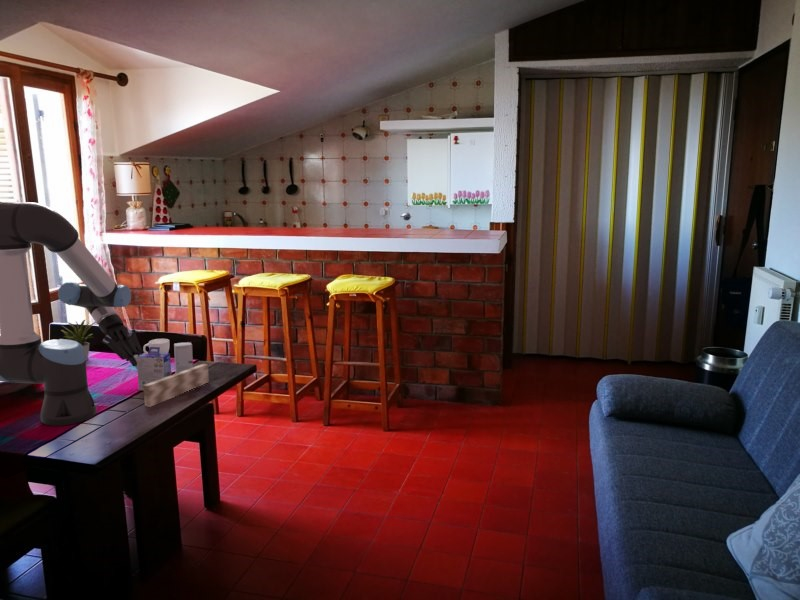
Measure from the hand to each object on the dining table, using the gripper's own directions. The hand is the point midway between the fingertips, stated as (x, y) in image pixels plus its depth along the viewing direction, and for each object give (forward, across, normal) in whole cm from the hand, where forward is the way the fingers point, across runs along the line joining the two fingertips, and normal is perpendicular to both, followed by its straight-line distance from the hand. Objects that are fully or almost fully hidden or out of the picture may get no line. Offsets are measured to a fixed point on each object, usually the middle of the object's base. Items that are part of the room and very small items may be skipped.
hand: (143, 371), depth 214 cm
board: (+16, +1, +9) cm, 18 cm away
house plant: (-29, -10, -37) cm, 48 cm away
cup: (-12, -25, -19) cm, 34 cm away
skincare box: (+7, -14, 0) cm, 16 cm away
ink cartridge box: (+8, +1, +1) cm, 8 cm away
